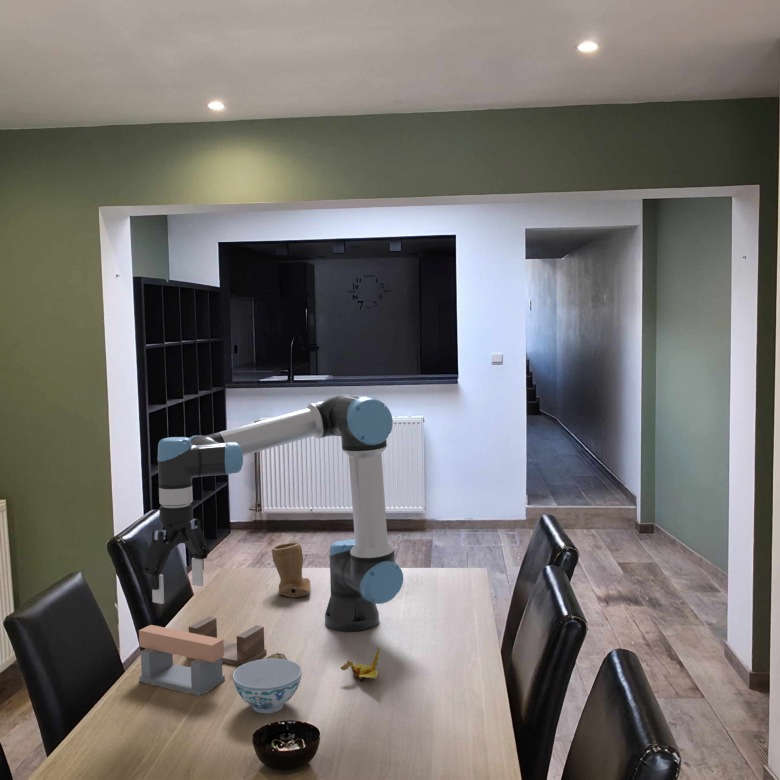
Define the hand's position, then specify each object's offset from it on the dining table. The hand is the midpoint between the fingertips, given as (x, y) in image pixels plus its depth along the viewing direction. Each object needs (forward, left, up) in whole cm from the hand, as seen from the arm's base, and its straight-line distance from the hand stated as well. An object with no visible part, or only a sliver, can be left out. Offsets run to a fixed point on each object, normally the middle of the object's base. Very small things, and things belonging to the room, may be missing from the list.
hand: (178, 593), depth 193 cm
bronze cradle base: (0, -17, -21) cm, 27 cm away
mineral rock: (-16, -14, -22) cm, 30 cm away
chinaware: (-26, +2, -21) cm, 34 cm away
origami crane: (-39, -19, -21) cm, 48 cm away
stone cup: (+12, -65, -21) cm, 69 cm away
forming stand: (0, 0, -21) cm, 21 cm away
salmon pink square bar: (0, 0, -14) cm, 14 cm away
